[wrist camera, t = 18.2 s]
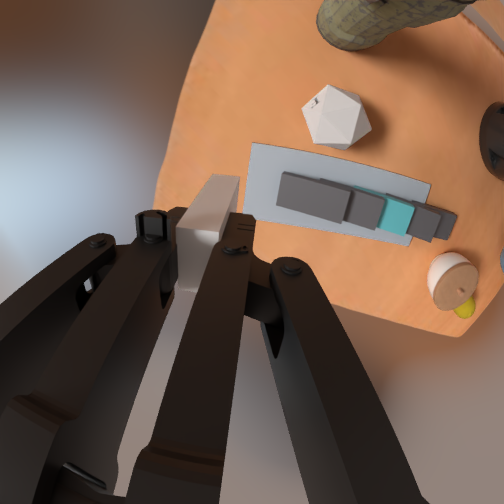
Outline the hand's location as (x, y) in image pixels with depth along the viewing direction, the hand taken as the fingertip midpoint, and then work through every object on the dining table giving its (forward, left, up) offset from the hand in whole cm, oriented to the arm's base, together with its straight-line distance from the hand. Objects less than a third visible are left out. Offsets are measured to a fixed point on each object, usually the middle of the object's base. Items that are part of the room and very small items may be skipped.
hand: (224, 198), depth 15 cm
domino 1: (-5, +7, -25) cm, 26 cm away
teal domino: (-16, +7, -25) cm, 30 cm away
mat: (-15, +7, -26) cm, 31 cm away
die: (-11, -5, -26) cm, 29 cm away
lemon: (-50, +22, -26) cm, 60 cm away
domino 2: (-11, +7, -25) cm, 28 cm away
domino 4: (-27, +7, -25) cm, 38 cm away
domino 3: (-22, +7, -25) cm, 34 cm away
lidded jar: (-41, +16, -26) cm, 51 cm away
